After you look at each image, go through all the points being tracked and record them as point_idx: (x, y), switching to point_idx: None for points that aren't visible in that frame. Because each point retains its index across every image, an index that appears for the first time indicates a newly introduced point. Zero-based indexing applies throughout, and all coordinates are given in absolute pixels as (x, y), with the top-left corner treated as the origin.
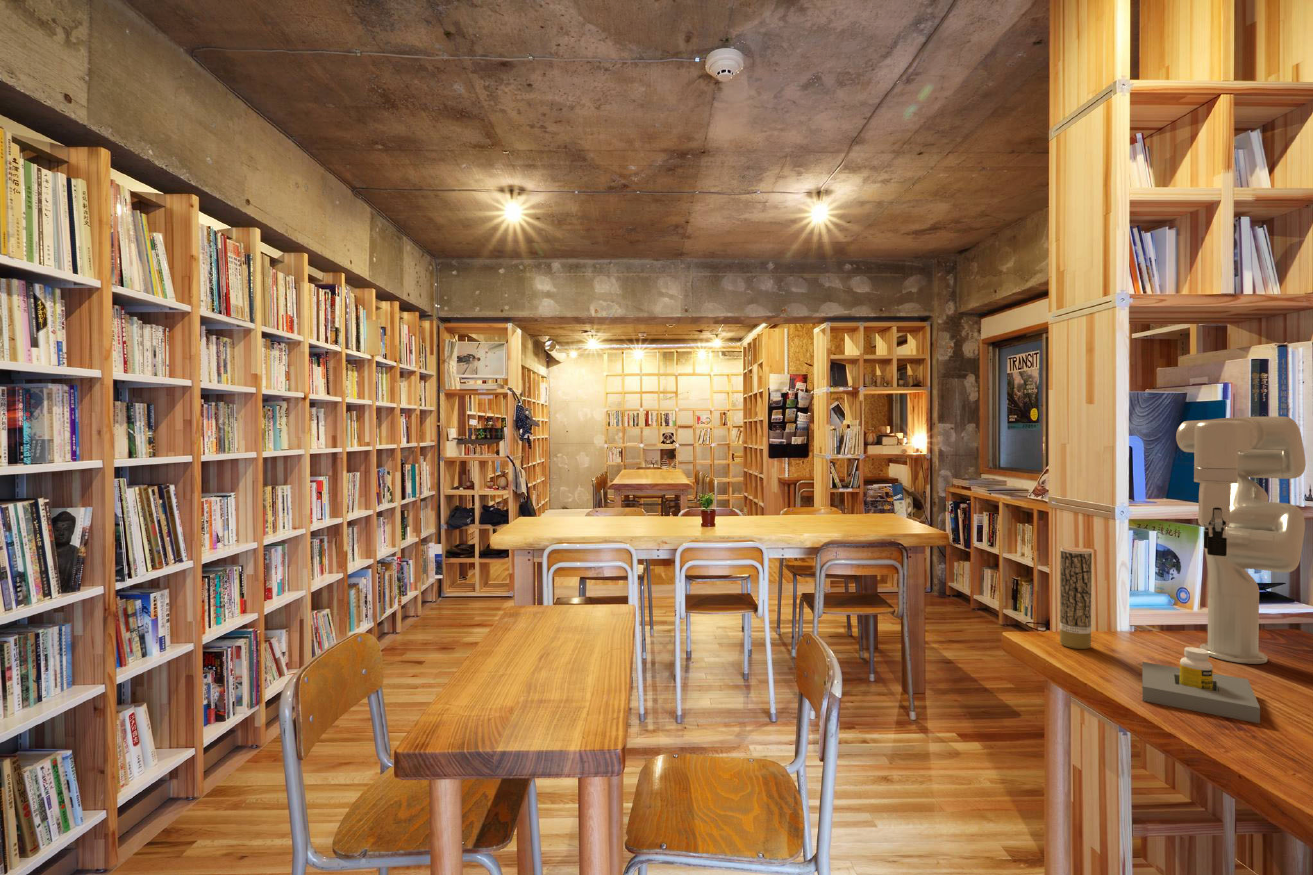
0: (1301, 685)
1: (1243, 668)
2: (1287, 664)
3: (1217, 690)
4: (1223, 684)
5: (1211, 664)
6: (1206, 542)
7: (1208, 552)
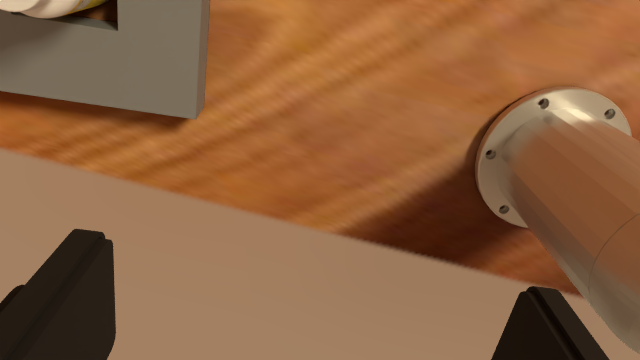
0: (340, 234)
1: (432, 154)
2: (509, 254)
3: (82, 22)
4: (97, 43)
5: (29, 14)
6: (545, 338)
7: (71, 242)
